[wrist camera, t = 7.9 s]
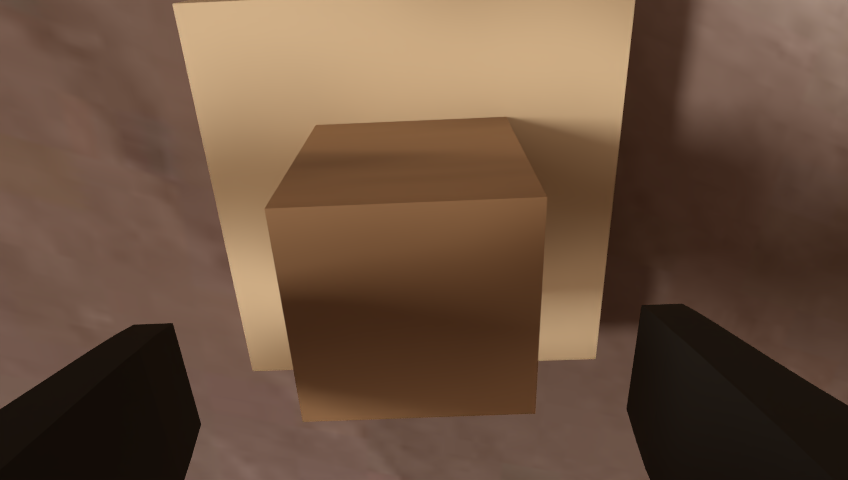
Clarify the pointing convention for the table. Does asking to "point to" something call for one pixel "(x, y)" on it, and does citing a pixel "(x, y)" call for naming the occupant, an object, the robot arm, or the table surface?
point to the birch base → (412, 101)
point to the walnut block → (411, 269)
